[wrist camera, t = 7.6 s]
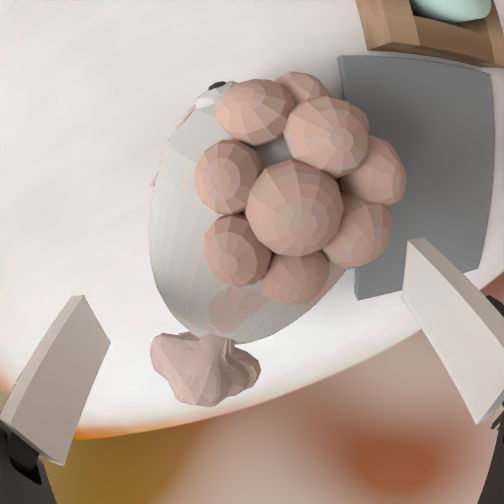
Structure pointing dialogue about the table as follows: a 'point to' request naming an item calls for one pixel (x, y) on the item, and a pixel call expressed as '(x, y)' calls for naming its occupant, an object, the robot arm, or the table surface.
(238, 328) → the toy
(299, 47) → the table surface
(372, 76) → the mat
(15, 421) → the robot arm
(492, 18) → the housing
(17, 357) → the table surface
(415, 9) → the dome
